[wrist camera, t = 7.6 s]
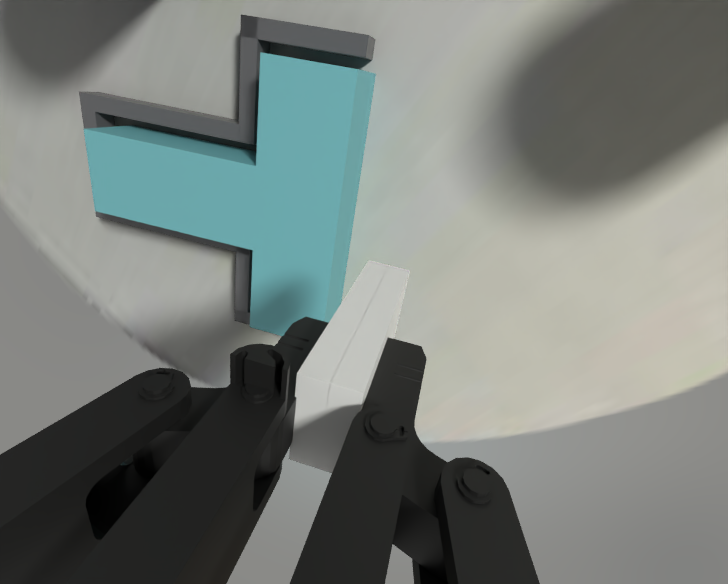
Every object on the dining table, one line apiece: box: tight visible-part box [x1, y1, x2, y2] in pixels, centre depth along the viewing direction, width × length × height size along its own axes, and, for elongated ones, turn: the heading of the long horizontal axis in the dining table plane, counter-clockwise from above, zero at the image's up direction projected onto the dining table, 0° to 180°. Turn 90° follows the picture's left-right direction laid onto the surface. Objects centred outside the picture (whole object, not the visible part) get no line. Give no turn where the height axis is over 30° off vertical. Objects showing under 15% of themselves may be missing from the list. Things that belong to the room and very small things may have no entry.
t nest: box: [79, 15, 375, 325], centre depth 27 cm, size 18×19×2 cm
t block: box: [84, 52, 376, 336], centre depth 26 cm, size 16×16×4 cm
